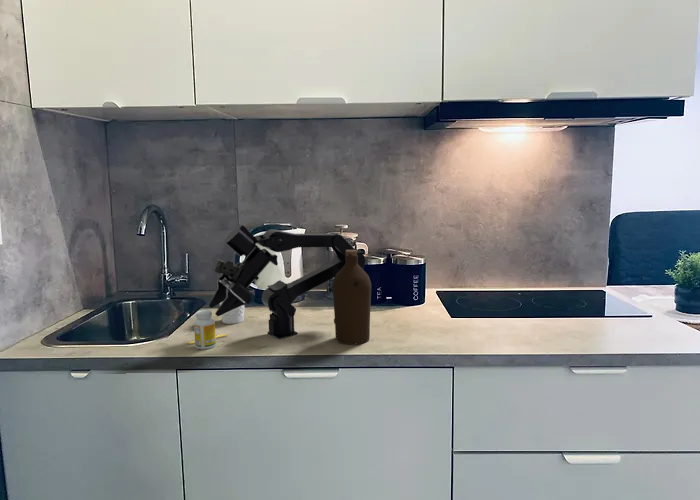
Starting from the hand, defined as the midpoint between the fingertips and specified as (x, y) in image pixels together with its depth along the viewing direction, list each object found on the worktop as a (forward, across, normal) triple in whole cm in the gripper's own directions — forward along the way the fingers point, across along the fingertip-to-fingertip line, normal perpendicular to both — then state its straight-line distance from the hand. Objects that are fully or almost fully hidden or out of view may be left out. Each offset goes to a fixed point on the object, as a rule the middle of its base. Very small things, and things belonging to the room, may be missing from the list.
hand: (213, 310), depth 143 cm
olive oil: (-18, +13, +32) cm, 39 cm away
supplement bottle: (+9, 0, +5) cm, 10 cm away
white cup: (0, -20, +14) cm, 24 cm away
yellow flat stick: (+7, -6, +6) cm, 11 cm away
